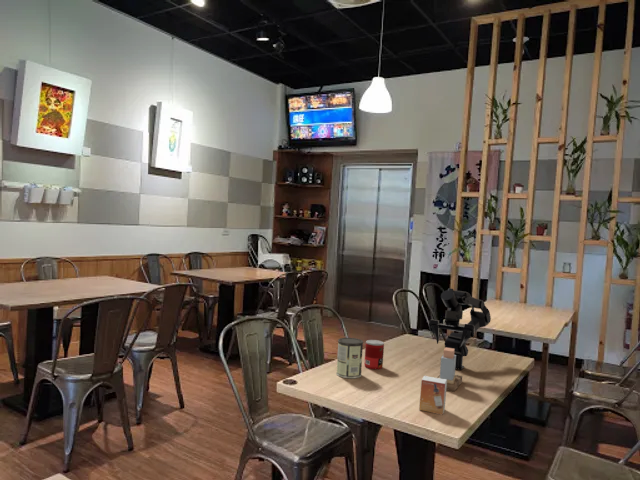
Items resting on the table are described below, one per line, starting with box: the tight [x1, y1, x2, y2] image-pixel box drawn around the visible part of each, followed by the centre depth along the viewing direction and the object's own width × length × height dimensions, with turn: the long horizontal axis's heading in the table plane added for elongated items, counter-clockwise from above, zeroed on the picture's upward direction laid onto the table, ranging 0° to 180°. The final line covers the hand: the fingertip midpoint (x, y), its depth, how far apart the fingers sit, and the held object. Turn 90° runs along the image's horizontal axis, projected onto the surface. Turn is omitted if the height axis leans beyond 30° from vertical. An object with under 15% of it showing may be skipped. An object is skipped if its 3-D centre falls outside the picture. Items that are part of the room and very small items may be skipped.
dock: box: [436, 374, 463, 392], centre depth 189 cm, size 14×8×3 cm, turn 152°
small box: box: [418, 375, 447, 416], centre depth 160 cm, size 8×6×10 cm
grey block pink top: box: [439, 346, 457, 384], centre depth 187 cm, size 9×6×12 cm, turn 158°
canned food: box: [364, 339, 385, 370], centre depth 207 cm, size 8×8×11 cm
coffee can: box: [336, 337, 364, 380], centre depth 194 cm, size 10×10×14 cm
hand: (448, 344), depth 198 cm, fingers open, 9 cm apart
